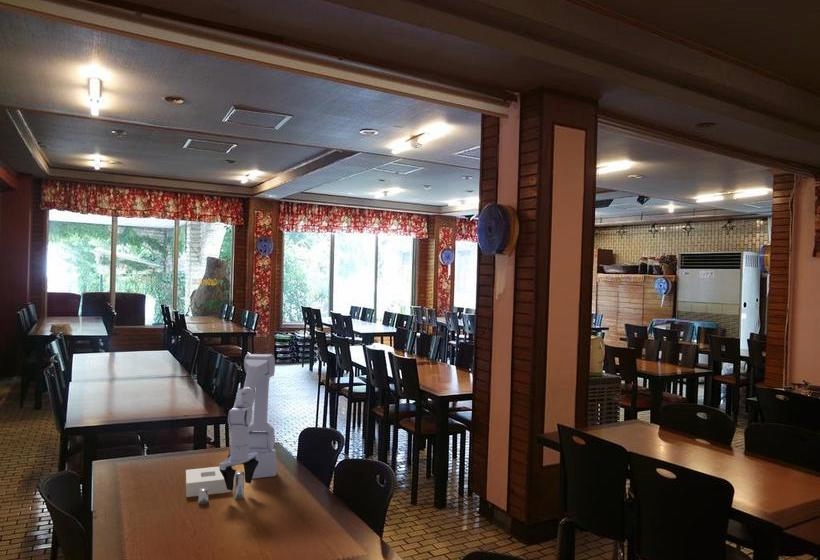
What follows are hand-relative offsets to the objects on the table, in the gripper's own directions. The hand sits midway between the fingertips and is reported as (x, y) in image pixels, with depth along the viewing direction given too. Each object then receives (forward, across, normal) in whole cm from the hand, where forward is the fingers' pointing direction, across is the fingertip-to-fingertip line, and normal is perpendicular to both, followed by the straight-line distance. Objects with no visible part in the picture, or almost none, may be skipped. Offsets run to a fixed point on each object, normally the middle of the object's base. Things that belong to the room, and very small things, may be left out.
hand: (239, 486), depth 190 cm
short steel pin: (+4, +9, -6) cm, 12 cm away
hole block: (+4, 0, -16) cm, 16 cm away
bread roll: (+4, -28, -31) cm, 43 cm away
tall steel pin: (+4, 0, 0) cm, 4 cm away
